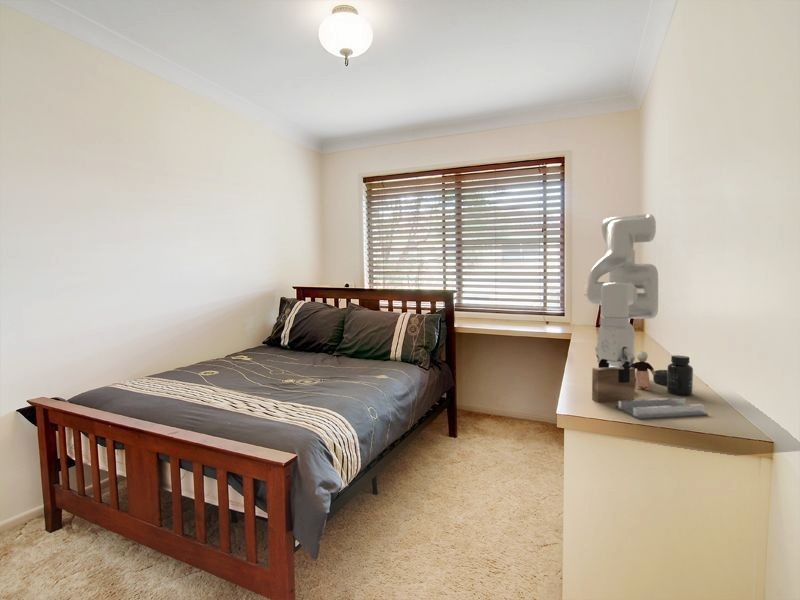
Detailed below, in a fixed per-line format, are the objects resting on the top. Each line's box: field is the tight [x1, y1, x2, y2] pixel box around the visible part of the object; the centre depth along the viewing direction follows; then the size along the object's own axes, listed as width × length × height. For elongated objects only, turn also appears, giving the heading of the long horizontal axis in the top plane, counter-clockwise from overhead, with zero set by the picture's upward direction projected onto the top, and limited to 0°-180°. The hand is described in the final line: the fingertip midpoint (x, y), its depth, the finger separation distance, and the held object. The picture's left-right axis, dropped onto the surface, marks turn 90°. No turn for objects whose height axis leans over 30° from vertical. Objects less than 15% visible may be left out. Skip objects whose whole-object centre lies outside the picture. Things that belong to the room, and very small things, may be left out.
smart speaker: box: [652, 369, 667, 386], centre depth 144 cm, size 9×9×4 cm
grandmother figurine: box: [631, 351, 656, 391], centre depth 138 cm, size 8×4×13 cm, turn 72°
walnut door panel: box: [591, 367, 636, 403], centre depth 126 cm, size 3×12×10 cm, turn 97°
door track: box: [615, 396, 708, 421], centre depth 115 cm, size 10×20×2 cm, turn 97°
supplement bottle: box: [666, 354, 694, 397], centre depth 132 cm, size 7×7×12 cm
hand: (613, 378), depth 125 cm, fingers open, 9 cm apart
